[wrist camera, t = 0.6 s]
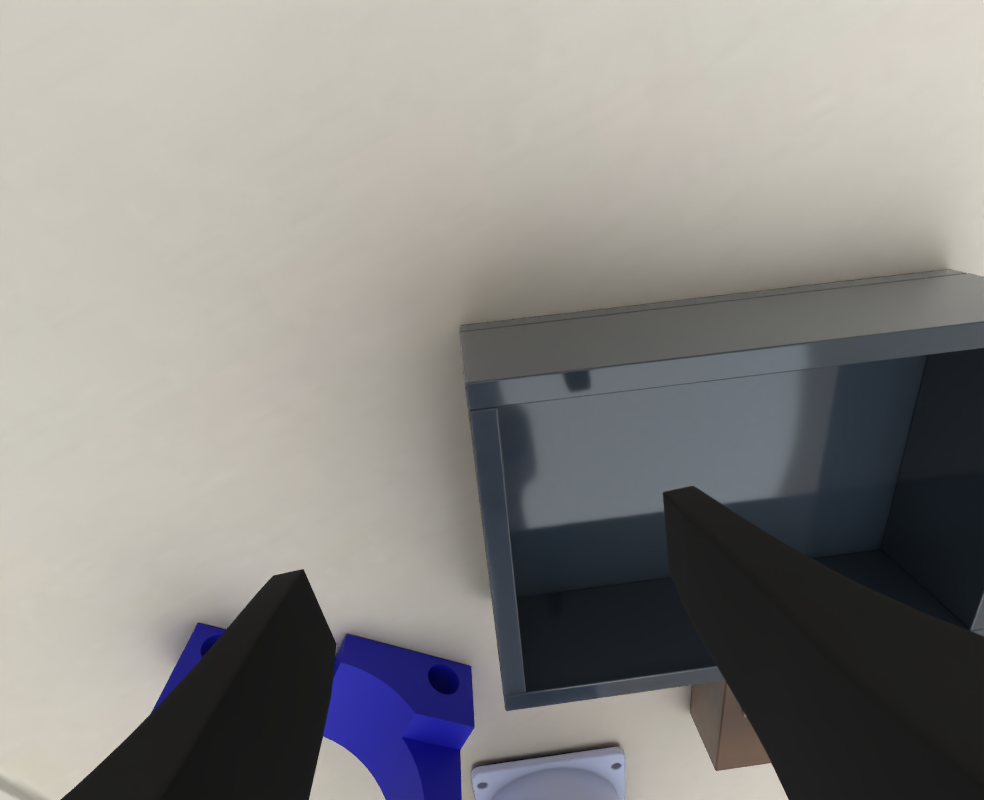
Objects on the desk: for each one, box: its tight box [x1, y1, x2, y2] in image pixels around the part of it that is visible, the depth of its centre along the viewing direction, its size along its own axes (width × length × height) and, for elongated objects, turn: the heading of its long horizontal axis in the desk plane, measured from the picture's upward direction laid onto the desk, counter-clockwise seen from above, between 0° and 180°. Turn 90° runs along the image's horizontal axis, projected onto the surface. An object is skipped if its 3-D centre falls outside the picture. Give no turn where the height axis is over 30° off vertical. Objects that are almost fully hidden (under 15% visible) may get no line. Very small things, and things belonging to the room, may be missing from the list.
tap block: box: [690, 680, 771, 771], centre depth 26 cm, size 9×11×3 cm
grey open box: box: [459, 269, 984, 711], centre depth 20 cm, size 13×18×5 cm
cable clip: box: [152, 623, 474, 800], centre depth 22 cm, size 12×4×6 cm, turn 65°
